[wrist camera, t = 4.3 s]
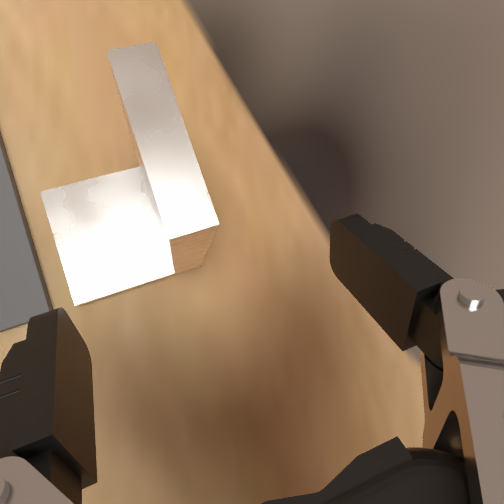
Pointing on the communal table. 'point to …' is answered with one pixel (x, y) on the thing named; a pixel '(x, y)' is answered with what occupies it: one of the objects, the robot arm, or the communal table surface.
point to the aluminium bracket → (136, 194)
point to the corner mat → (17, 258)
